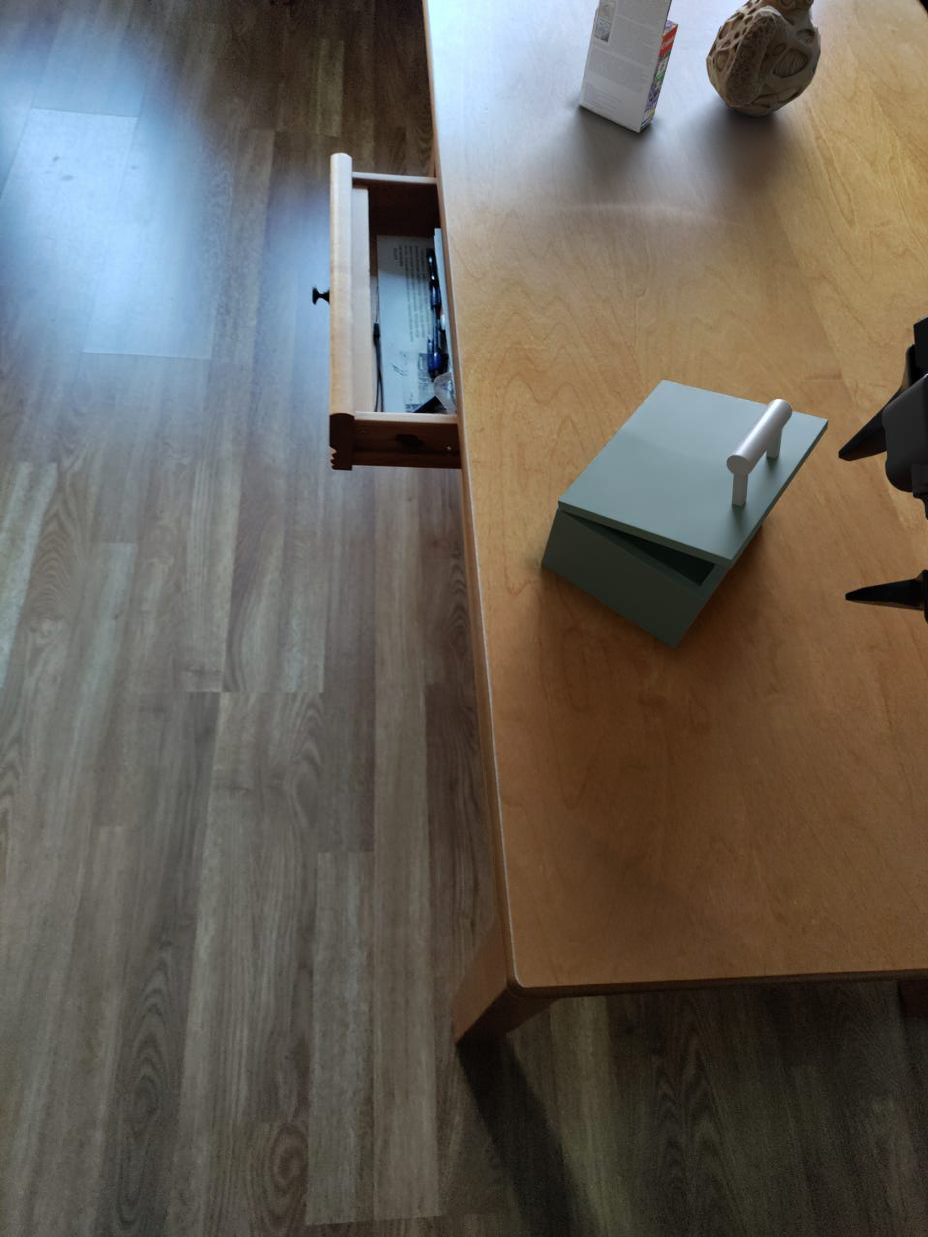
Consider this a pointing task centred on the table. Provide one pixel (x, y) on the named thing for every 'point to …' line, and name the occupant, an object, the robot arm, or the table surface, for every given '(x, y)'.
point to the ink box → (627, 60)
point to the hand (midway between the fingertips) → (846, 526)
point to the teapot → (765, 55)
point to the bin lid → (695, 470)
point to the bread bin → (632, 574)
